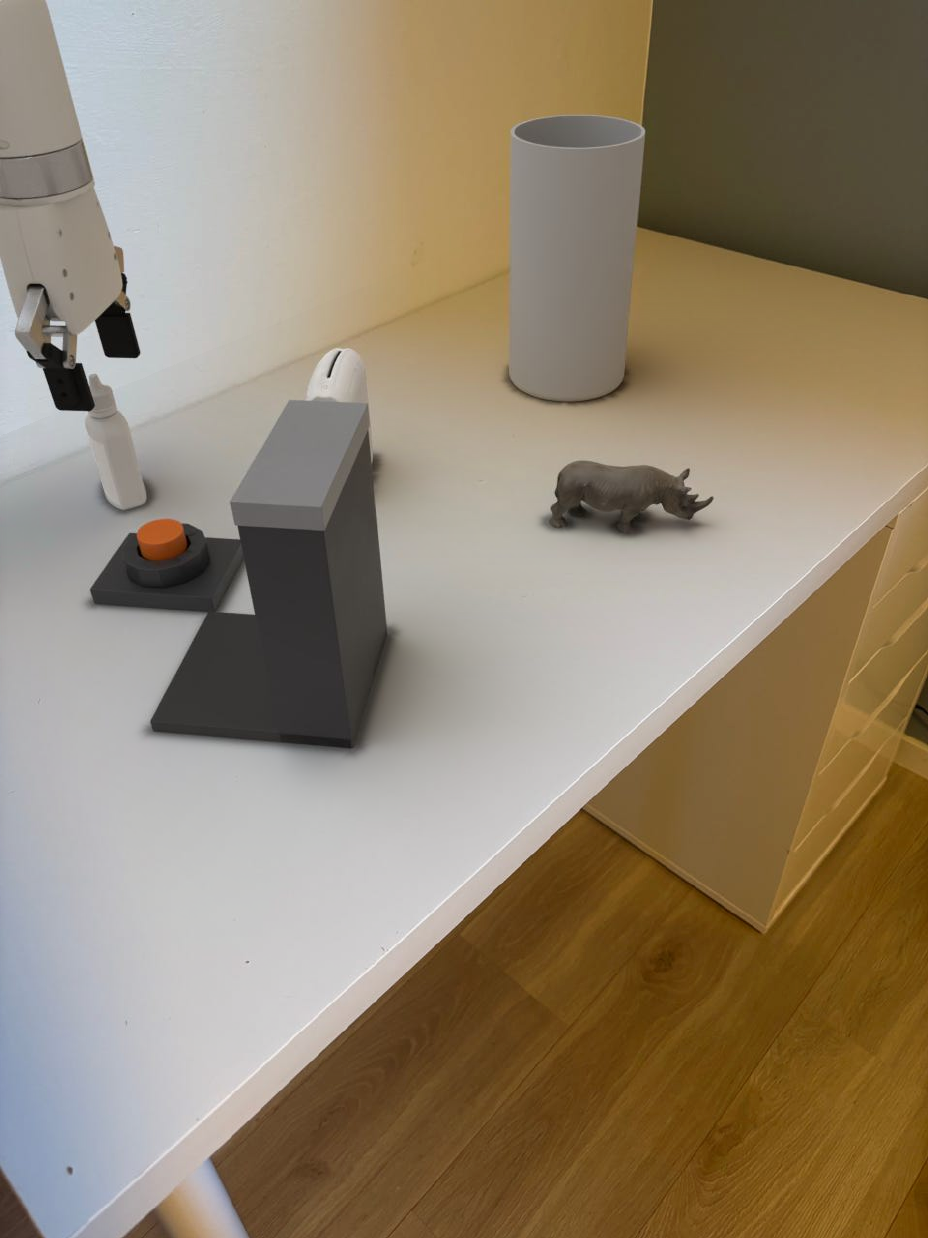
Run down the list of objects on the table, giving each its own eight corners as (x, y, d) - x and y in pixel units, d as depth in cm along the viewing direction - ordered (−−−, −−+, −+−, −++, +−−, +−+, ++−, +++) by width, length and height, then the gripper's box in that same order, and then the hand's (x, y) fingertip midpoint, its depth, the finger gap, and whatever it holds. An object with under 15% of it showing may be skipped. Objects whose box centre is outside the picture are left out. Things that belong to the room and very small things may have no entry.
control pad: (94, 606, 79) (83, 571, 77) (133, 548, 85) (124, 514, 83) (215, 614, 78) (207, 579, 76) (246, 555, 84) (239, 521, 82)
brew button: (134, 560, 79) (129, 542, 77) (151, 535, 81) (146, 517, 80) (178, 563, 78) (173, 545, 77) (193, 537, 81) (189, 519, 80)
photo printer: (360, 516, 88) (347, 388, 81) (313, 514, 89) (295, 387, 81) (378, 457, 96) (367, 335, 89) (334, 456, 97) (320, 335, 89)
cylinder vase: (485, 377, 109) (483, 131, 93) (564, 344, 116) (575, 108, 100) (567, 416, 102) (580, 156, 86) (647, 379, 108) (673, 129, 92)
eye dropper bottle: (95, 513, 90) (58, 391, 82) (109, 481, 94) (75, 362, 86) (143, 511, 90) (111, 389, 82) (156, 479, 94) (126, 360, 87)
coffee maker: (152, 734, 68) (76, 492, 56) (211, 622, 77) (157, 393, 65) (354, 752, 66) (321, 506, 54) (389, 635, 76) (368, 402, 63)
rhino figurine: (710, 543, 84) (720, 482, 80) (547, 533, 86) (550, 473, 82) (707, 516, 87) (717, 456, 83) (551, 507, 89) (553, 448, 85)
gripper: (43, 138, 81) (101, 337, 92) (-72, 208, 68) (11, 430, 79) (130, 138, 80) (178, 339, 91) (30, 208, 67) (100, 433, 78)
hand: (100, 381), depth 85 cm, fingers open, 9 cm apart
